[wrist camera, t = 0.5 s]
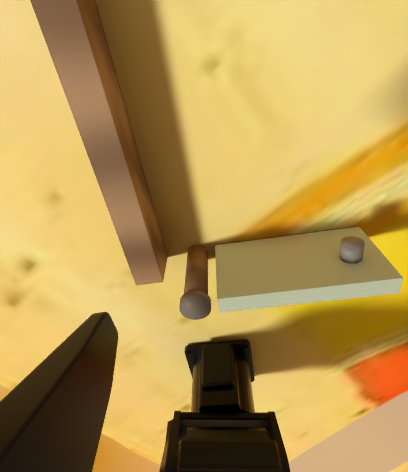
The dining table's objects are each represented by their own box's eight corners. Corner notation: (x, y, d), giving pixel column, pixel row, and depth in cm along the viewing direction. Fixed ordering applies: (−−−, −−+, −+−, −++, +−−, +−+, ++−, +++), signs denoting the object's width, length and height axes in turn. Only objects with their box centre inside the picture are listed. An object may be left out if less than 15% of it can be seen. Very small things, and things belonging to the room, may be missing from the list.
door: (217, 257, 24) (220, 312, 19) (212, 232, 23) (214, 284, 18) (357, 239, 23) (399, 293, 18) (361, 212, 22) (407, 261, 17)
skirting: (167, 257, 24) (162, 282, 22) (143, 260, 25) (136, 285, 22) (86, -32, 15) (61, -48, 12) (48, -23, 15) (16, -37, 13)
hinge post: (211, 261, 25) (213, 317, 19) (187, 265, 25) (182, 321, 20) (208, 241, 24) (208, 295, 18) (183, 245, 24) (176, 298, 19)
